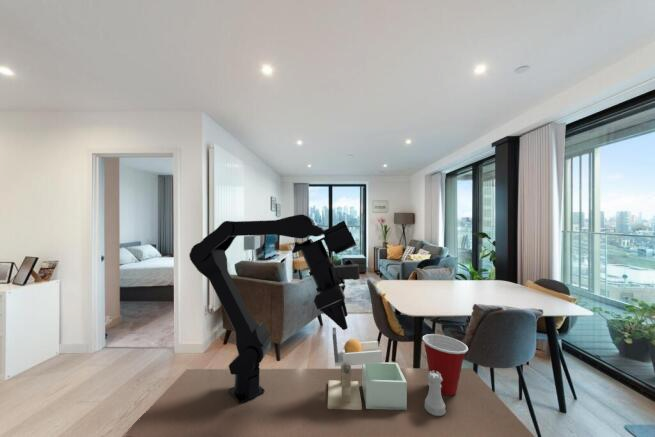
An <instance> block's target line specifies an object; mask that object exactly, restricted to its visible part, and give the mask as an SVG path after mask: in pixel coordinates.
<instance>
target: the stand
mask: <svg viewBox="0 0 655 437" xmlns="http://www.w3.org/2000/svg"><path fill="white" fill-rule="evenodd" d="M340 352H342V350H340ZM351 376H352V365H342V366H340V380H335V379H334V380H331V379H328V384H327V385H328V388H327V391H328V392H327V409H328V410H329V409H330V410H353V411H357V410H358V411H362V410H363V404H362V400H361V393H360V385H359V381H358V380H356V381H355V380H352V378H351Z"/></svg>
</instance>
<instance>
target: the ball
mask: <svg viewBox="0 0 655 437" xmlns="http://www.w3.org/2000/svg"><path fill="white" fill-rule="evenodd" d="M359 342H360V341H359V340H357V339H355V338H350V339H348V340H346V342H345V343H346V344H345V352H346V353H352V352H361V345H360V343H359Z"/></svg>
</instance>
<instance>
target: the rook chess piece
mask: <svg viewBox="0 0 655 437" xmlns="http://www.w3.org/2000/svg"><path fill="white" fill-rule="evenodd" d="M426 378H427V379H428V384H427V385H428V394H427V395H426V398H425V399H424V408H425V410H426V412H427V413H428V414H430V415H431V416H435V417H441V416H444V415H445V413H446V404H445V402H444V399H443V398H442V396H443V395H442V394H441V387H442V386H441V384H440V383H441V382H442V380H443V379H442V377H441V374H440V373H439V372H436V373H434V371H432V373H431V371H429V370H428V374H427V376H426Z"/></svg>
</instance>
